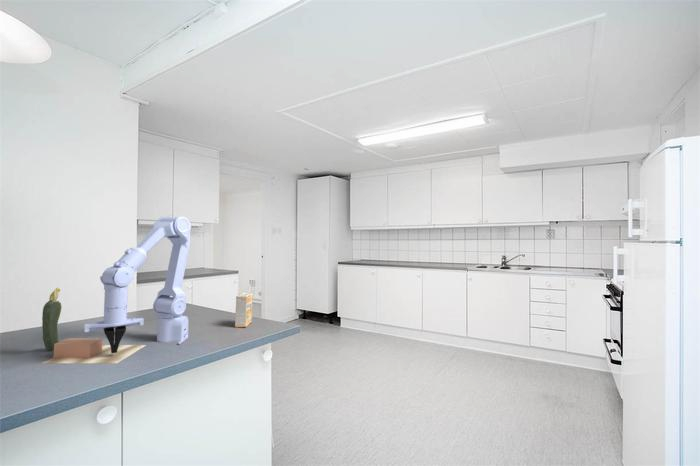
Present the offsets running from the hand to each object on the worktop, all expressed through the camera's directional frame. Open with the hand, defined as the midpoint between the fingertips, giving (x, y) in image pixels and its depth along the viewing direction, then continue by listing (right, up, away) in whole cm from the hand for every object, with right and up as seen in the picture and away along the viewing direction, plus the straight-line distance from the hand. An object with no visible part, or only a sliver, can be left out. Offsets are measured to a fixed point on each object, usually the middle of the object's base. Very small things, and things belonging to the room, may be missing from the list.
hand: (114, 352), depth 101 cm
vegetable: (-22, -2, +3) cm, 22 cm away
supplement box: (+26, -4, +41) cm, 49 cm away
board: (-6, -2, +1) cm, 6 cm away
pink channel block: (-11, -1, 0) cm, 11 cm away
